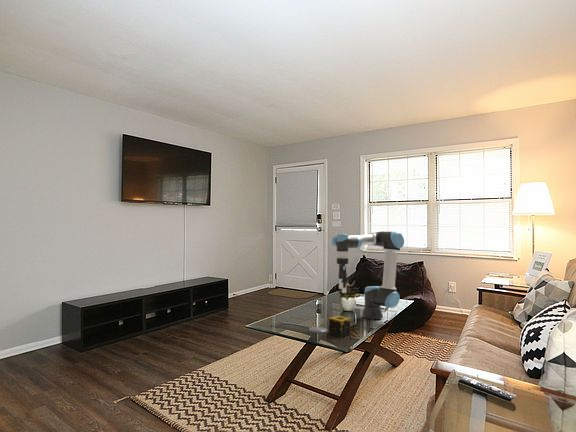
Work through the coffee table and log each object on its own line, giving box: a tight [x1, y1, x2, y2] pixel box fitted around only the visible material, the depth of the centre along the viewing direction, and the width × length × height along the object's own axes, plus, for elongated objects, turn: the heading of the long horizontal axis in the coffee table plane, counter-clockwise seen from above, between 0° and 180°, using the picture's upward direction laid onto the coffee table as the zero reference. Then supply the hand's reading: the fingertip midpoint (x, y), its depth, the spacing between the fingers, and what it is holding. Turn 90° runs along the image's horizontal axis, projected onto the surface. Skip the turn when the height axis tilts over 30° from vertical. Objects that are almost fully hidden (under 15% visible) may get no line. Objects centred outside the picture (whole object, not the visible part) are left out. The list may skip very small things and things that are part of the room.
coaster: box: [308, 326, 328, 334], centre depth 220 cm, size 12×12×1 cm
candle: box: [327, 315, 352, 338], centre depth 213 cm, size 10×10×10 cm
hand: (342, 290), depth 220 cm, fingers open, 13 cm apart
